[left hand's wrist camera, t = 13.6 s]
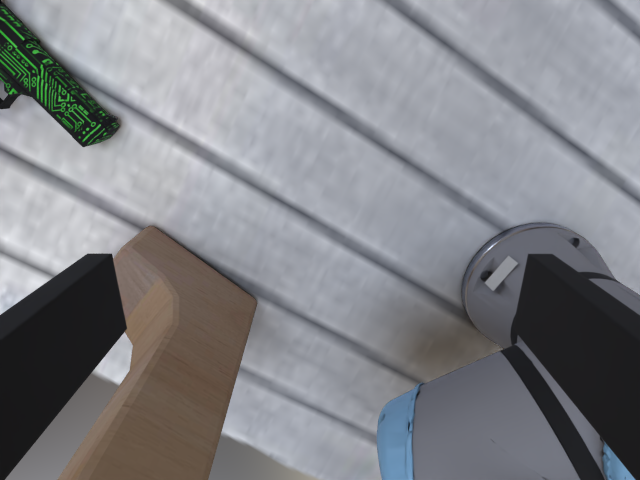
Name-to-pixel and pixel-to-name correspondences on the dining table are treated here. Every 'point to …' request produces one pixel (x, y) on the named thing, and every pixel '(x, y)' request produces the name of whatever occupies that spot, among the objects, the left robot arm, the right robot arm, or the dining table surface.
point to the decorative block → (168, 367)
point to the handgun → (48, 84)
